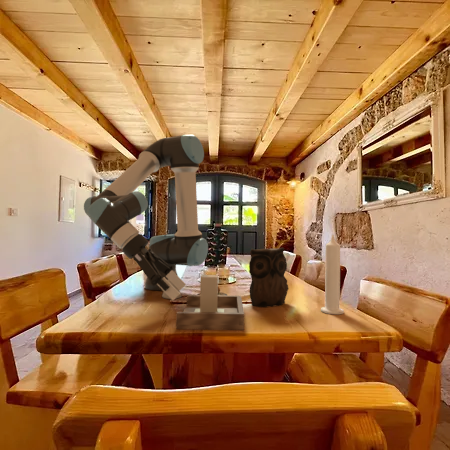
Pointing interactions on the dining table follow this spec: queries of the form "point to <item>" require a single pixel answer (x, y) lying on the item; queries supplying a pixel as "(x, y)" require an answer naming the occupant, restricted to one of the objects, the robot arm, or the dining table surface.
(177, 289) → the flask
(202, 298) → the block
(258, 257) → the owl
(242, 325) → the shallow rimmed tray
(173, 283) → the robot arm
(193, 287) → the dining table surface
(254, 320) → the dining table surface
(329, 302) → the candle
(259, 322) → the dining table surface
